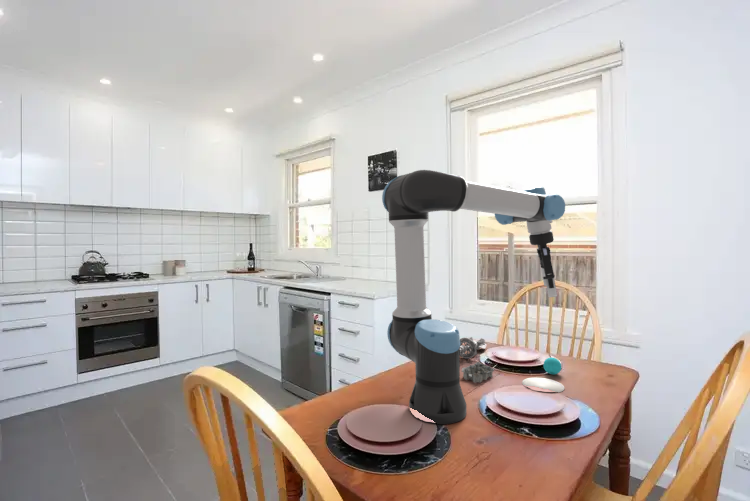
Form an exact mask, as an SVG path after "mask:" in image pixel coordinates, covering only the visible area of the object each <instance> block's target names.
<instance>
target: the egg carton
mask: <svg viewBox="0 0 750 501" xmlns="http://www.w3.org/2000/svg"><path fill="white" fill-rule="evenodd" d="M460 372H461V373H463V374H462V375H463V376H462V377H463V378H464V380H466V381H468V380H470V381H472V382H473V383H480V384H481V383H483V381H484V380H485V381H487V380H488V378H493V377H494V376H493V373H494V372H495V368H491V365H486V364H484V363H481V362H479V361H476V363H474V364H470V365H468V366H466V367H461V370H460Z"/></svg>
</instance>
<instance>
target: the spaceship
mask: <svg viewBox="0 0 750 501" xmlns="http://www.w3.org/2000/svg"><path fill="white" fill-rule="evenodd" d="M486 347H487V343H486V340H485V339H484V338H482V337H481V338H479V340H477V339H476V340H474V338H473V337H472V336H471V337H462V338H460V358H463V359H466V360H469V359H473V357H474V356H478V350H480V349H487V348H486Z"/></svg>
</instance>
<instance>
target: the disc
mask: <svg viewBox="0 0 750 501" xmlns="http://www.w3.org/2000/svg"><path fill="white" fill-rule="evenodd" d="M521 384H522V385H523V386H524V385H526V386H535V387H539V388H543V389H549V390H552V391H555V392H558V393H557V394H559V393H561V392H563V391H564V390H565V386H564V384H563V383H561V382H558V381H557V380H554V379H551V378H544V377H528V378H524V379H522V382H521Z"/></svg>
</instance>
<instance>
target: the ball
mask: <svg viewBox="0 0 750 501" xmlns="http://www.w3.org/2000/svg"><path fill="white" fill-rule="evenodd" d="M542 366H543V369H544V370H545V372H546V373H547V374H549V375H557V374H559V373H561V371H562V363H561V361H560V360H558V358H555V357H548V358H546V359H545V360H544V361H543V365H542Z"/></svg>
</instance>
